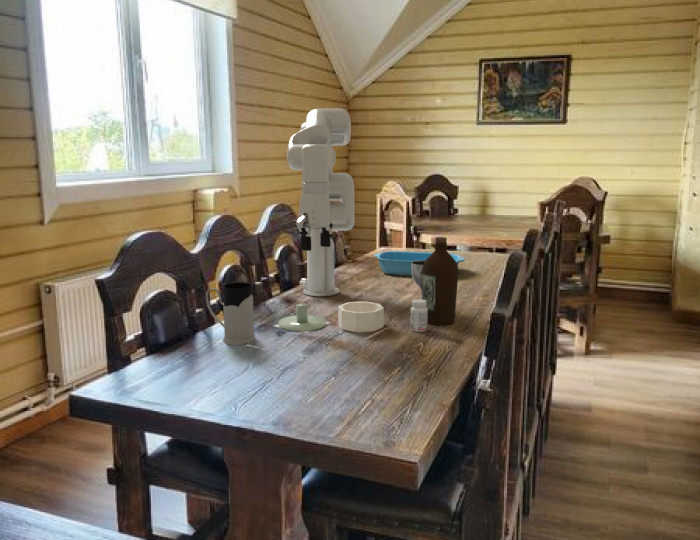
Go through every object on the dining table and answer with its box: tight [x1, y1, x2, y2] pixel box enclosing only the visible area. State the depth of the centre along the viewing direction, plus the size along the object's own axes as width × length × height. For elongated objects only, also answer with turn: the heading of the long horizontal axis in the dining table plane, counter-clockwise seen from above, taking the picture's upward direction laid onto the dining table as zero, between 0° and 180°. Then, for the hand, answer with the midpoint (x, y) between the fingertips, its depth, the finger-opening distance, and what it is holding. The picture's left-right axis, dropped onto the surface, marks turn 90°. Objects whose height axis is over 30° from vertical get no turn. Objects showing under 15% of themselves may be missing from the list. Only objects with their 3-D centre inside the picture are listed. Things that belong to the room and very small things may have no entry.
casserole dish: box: [373, 250, 466, 277], centre depth 252 cm, size 37×22×7 cm, turn 78°
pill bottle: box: [409, 298, 428, 333], centre depth 174 cm, size 5×5×8 cm
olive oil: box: [422, 236, 460, 326], centre depth 181 cm, size 11×11×25 cm
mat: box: [273, 321, 332, 334], centre depth 178 cm, size 12×12×1 cm
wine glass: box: [411, 260, 425, 300], centre depth 195 cm, size 8×8×15 cm
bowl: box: [337, 300, 385, 333], centre depth 176 cm, size 12×12×6 cm
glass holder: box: [205, 282, 257, 346], centre depth 165 cm, size 9×14×15 cm, turn 70°
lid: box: [278, 302, 327, 332], centre depth 177 cm, size 14×14×6 cm
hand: (316, 248), depth 177 cm, fingers open, 9 cm apart
